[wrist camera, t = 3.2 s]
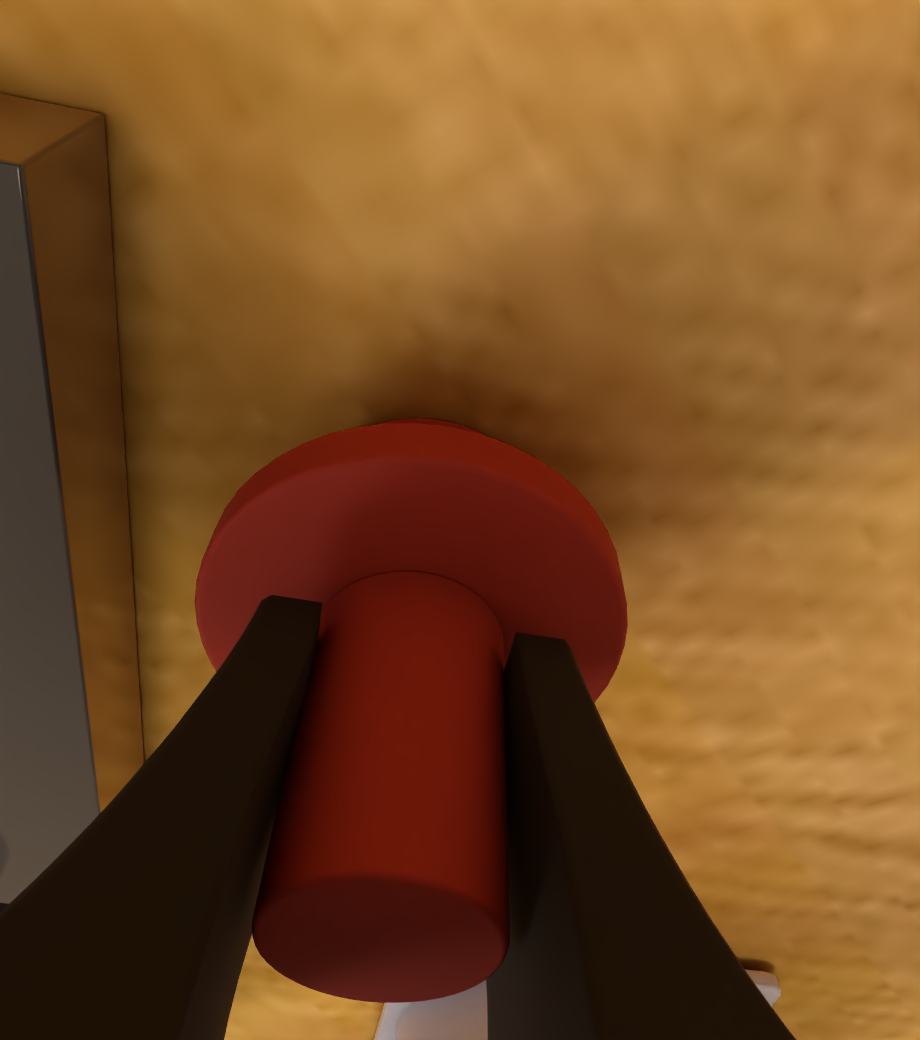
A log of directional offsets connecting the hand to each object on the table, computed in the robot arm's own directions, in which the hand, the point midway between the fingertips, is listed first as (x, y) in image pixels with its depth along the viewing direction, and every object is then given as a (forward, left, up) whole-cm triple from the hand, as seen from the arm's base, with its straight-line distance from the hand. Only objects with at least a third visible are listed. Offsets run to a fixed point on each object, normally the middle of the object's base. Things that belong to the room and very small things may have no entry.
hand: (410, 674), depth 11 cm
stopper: (0, 0, -3) cm, 3 cm away
